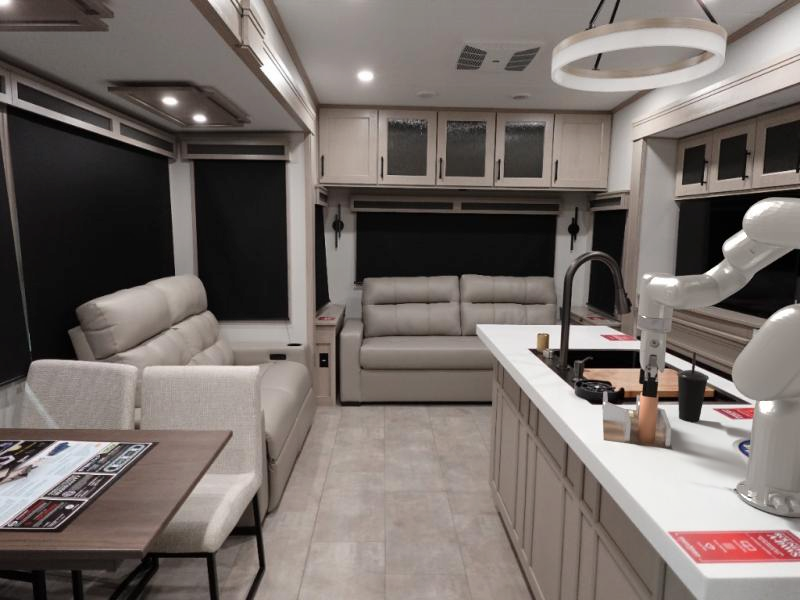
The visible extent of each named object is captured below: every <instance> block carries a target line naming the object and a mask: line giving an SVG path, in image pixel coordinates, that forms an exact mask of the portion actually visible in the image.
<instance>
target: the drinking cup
mask: <svg viewBox="0 0 800 600" xmlns="http://www.w3.org/2000/svg"><path fill="white" fill-rule="evenodd" d="M696 358H697V352H692V362H691V369H685V370H681V371H678V372H677V373H676V375H677V385H678V387H677V389H678V390H677V391H678V394H677V395H678V396H677V397H678V399H677V400H678V418H679V420H680V421H683V422H688V423H699V421H700V419H701V414H702V409H703V403H704V398H705V393H706V388H707V383H708V380H709V379H710V377H709V376H708V375H707V374H705V373H703V372H701V371H698V370H695V369H696Z"/></svg>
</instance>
